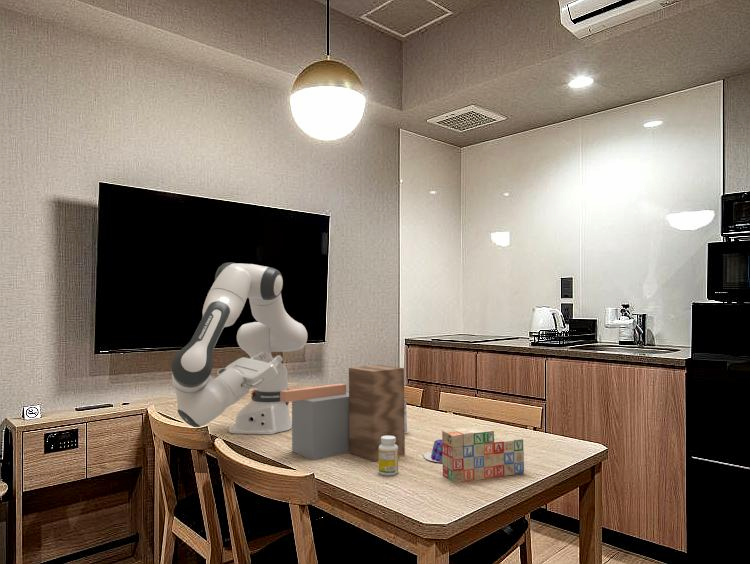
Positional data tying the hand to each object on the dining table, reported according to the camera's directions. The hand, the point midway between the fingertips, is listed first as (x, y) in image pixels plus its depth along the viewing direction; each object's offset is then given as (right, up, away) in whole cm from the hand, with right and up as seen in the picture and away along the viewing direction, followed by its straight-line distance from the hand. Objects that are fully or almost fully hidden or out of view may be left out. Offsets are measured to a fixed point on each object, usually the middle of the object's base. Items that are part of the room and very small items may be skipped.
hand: (272, 355), depth 166 cm
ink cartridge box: (+37, -32, +30) cm, 57 cm away
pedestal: (+15, -31, +11) cm, 36 cm away
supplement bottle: (+34, -30, -13) cm, 47 cm away
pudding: (+50, -31, +1) cm, 59 cm away
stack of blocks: (+59, -30, -15) cm, 68 cm away
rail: (+11, -14, +8) cm, 20 cm away
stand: (+30, -31, +6) cm, 44 cm away
